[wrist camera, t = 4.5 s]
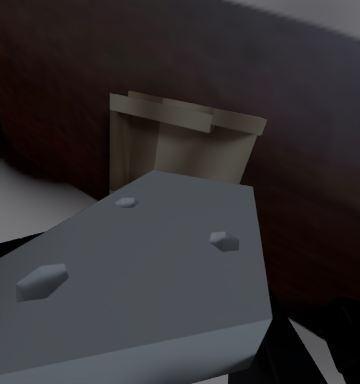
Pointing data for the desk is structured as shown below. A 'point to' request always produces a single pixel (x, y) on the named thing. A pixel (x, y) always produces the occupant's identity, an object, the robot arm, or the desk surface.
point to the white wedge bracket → (138, 289)
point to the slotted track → (177, 139)
